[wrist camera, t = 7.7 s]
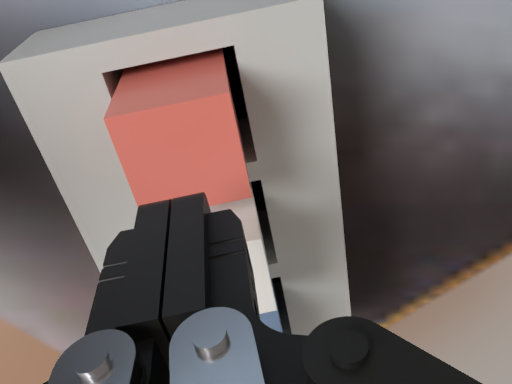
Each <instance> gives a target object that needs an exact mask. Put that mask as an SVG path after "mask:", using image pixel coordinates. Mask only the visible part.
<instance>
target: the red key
mask: <svg viewBox="0 0 512 384" xmlns="http://www.w3.org/2000/svg"><path fill="white" fill-rule="evenodd" d="M103 119H104V122H105V124H106V127H107V130H108V132H109V135H110V137H111V140H112V142H113V145H114V147H115V150H116V152H117V155H118V158H119V160H120V163H121V165H122V168H123V170H124V173H125V175H126V178H127V181H128V183H129V186H130V188H131V191H132V193H133V196H134V198H135V201H136V203H137V206H138V207H139V205H144V204H148V203H153V202H158V201H163V200H168V199H173V198H177V197H182V196H187V195H192V194H196V193H201V192H204V193H205V194H206V197H207V200H208V203H209V206H213V205H218V204H223V203H227V202H232V201H237V200H242V199H247V198H251V197H252V193H251V187H250V182H249V176H248V171H247V166H246V160H245V155H244V149H243V144H242V139H241V133H240V129H239V124H238V120H237V115H236V110H235V106H234V101H233V96H232V92H231V87H230V82H229V78H228V73H227V69H226V64H225V59H224V55H223V50H222V48H219V49H214V50H209V51H204V52H200V53H195V54H190V55H185V56H180V57H176V58H171V59H166V60H161V61H157V62H152V63H147V64H142V65H138V66H133V67H128V68H125V69H124V71H123V74H122V76H121V78H120V81H119V83H118V85H117V88H116V90H115V92H114V95H113V97H112V99H111V102H110V104H109V107H108V109H107V111H106V114H105V116H104V118H103Z"/></svg>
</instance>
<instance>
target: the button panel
mask: <svg viewBox="0 0 512 384" xmlns="http://www.w3.org/2000/svg"><path fill="white" fill-rule="evenodd" d="M228 46H233V50H234V55H235V60H236V64H237V69H238V74H239V79H240V84H241V89H242V94H243V99H244V104H245V109H246V114H247V117H244V118H239V119H237V120H238V124H239V129H240V133H241V139H242V144H243V149H244V155H245V160H246V166H247V171H248V176H249V182H252V181H257V180H260V183H261V188H262V193H263V198H264V203H265V208H266V209H263V210H258V211H257V212H258V217H259V222H260V226H261V231H262V236H263V241H264V246H265V251H266V256H267V261H268V266H269V272H270V277H271V278H276V277H280V281H279V282H274V283H273V286H274V291H275V295H276V300H277V305H278V310H279V315H280V320H281V325H282V330H283V333H288V334H296V335H309V334H310V333H311V332H312V330H313V329H315V328H316V327H317V326H318V325H320V324H321V323H323V322H325V321H327V320H330V319H333V318H337V317H343V316H351V307H350V296H349V285H348V274H347V262H346V251H345V240H344V228H343V217H342V206H341V195H340V183H339V172H338V161H337V150H336V138H335V127H334V116H333V105H332V93H331V82H330V71H329V59H328V48H327V37H326V26H325V14H324V3H323V0H184V1H179V2H174V3H169V4H165V5H160V6H155V7H150V8H146V9H141V10H136V11H131V12H127V13H122V14H117V15H112V16H108V17H103V18H98V19H93V20H89V21H84V22H79V23H74V24H70V25H65V26H60V27H55V28H51V29H46V30H41V31H36V32H35V33H34V34H32V35H31V36H30V37H29V38H28V39H26V40H25V41H24V42H23V43H21V44H20V45H19V46H18V47H17V48H15V49H14V50H13V51H12V52H11V53H9V54H8V55H7V56H6V57H5V58H3V59H2V60H1V61H0V72H1V74H2V76H3V78H4V80H5V82H6V84H7V86H8V88H9V90H10V92H11V94H12V96H13V98H14V100H15V102H16V104H17V106H18V108H19V110H20V112H21V114H22V116H23V118H24V120H25V122H26V124H27V126H28V128H29V130H30V132H31V134H32V136H33V138H34V140H35V142H36V144H37V146H38V148H39V150H40V152H41V154H42V156H43V158H44V160H45V162H46V164H47V166H48V168H49V170H50V172H51V174H52V176H53V178H54V180H55V182H56V184H57V187H58V189H59V191H60V193H61V195H62V197H63V199H64V201H65V203H66V205H67V207H68V209H69V211H70V213H71V215H72V217H73V219H74V221H75V223H76V225H77V227H78V229H79V231H80V233H81V235H82V237H83V239H84V241H85V243H86V245H87V247H88V249H89V251H90V253H91V255H92V257H93V259H94V261H95V263H96V265H97V267H98V269H99V271H100V273H101V270H102V269H103V263H104V259H105V255H106V251H107V248H108V246H109V245H110V244H111V243H112V241H113V240H114V239H115V237H116V236H117V235H118V234H119V232H120V231H125V230H130V229H134V225H135V220H136V215H137V209H138V206H137V203H136V201H135V198H134V196H133V193H132V191H131V188H130V186H129V183H128V181H127V178H126V175H125V173H124V170H123V168H122V165H121V163H120V160H119V158H118V155H117V152H116V150H115V147H114V145H113V142H112V140H111V137H110V135H109V132H108V130H107V127H106V124H105V122H104V119H103V118H104V116H105V114H106V111H107V109H108V107H109V104H110V102H111V99H112V97H113V95H114V92H115V90H116V88H117V85H118V83H119V81H120V78H121V76H122V74H123V71H124V69H125V68H128V67H133V66H138V65H142V64H147V63H152V62H157V61H161V60H166V59H171V58H176V57H180V56H185V55H190V54H195V53H200V52H204V51H209V50H214V49H219V48H223V47H228Z"/></svg>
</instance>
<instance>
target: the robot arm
mask: <svg viewBox="0 0 512 384" xmlns="http://www.w3.org/2000/svg"><path fill="white" fill-rule="evenodd" d="M99 282H100V283H99V284H98V286H97V290H96V293H95V297H94V301H93V305H92V309H91V313H90V317H89V320H88V324H87V328H86V332H85V336H84V337H82V338H81V339H79V340H77V341H76V342H75V343H73V344H72V345H71V346H70V347H69V348H68V349H66V350H65V351H64V353H63V354H62V355H61V356H60V358H59V359H58V361H57V362H56V364H55V366H54V368H53V370H52V373H51V375H50V378H49V381H47V382H45V383H43V384H482V383H480V382H478V381H476V380H475V379H473V378H471V377H469V376H468V375H466V374H464V373H462V372H461V371H459V370H457V369H455V368H454V367H452V366H450V365H448V364H447V363H445V362H443V361H441V360H440V359H438V358H436V357H434V356H432V355H431V354H429V353H427V352H425V351H424V350H422V349H420V348H418V347H417V346H415V345H413V344H411V343H410V342H408V341H406V340H404V339H403V338H401V337H399V336H397V335H395V334H394V333H392V332H390V331H388V330H387V329H385V328H383V327H381V326H380V325H378V324H376V323H374V322H372V321H370V320H367V319H364V318H360V317H354V316H343V317H337V318H333V319H330V320H327V321H325V322H323V323H321V324H320V325H318V326H317V327H316V328H315V329H313V330H312V332H311V333H310V334H309V335H296V334H288V333H282V332H279V331H276V330H274V329H272V328H270V327H268V326H267V325H265V324H264V323H263V322H262V321H261V320H260V314H259V307H258V302H257V301H258V300H257V294H256V288H255V280H254V273H253V268H252V264H251V260H250V255H249V251H248V247H247V243H246V239H245V235H244V230H243V226H242V222H241V220H240V219H239V218H238V217H237V216H236V214H235V213H234V212H233V211H232V210H231V209H227V210H222V211H217V212H212V213H211V210H210V207H209V203H208V200H207V197H206V194H205V193H204V192H201V193H196V194H192V195H187V196H182V197H177V198H173V199H168V200H163V201H158V202H153V203H148V204H144V205H139V207H138V209H137V215H136V220H135V225H134V229H130V230H125V231H120V232H119V234H118V235H117V236H116V237H115V239H114V240H113V241H112V243H111V244H110V245H109V246H108V248H107V251H106V255H105V259H104V263H103V269H102V270H101V274H100V278H99Z"/></svg>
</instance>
